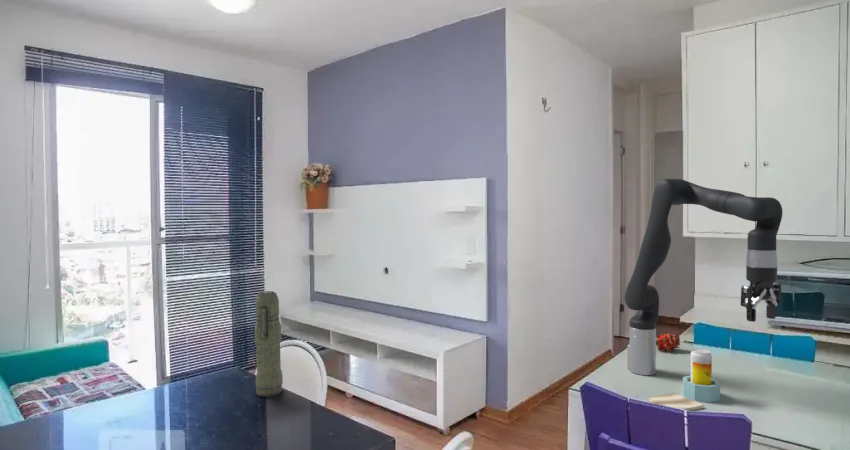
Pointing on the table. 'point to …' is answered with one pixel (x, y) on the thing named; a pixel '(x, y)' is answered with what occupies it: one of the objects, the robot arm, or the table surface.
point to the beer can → (701, 367)
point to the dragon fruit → (667, 342)
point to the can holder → (701, 390)
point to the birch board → (676, 401)
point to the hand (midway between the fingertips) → (761, 319)
